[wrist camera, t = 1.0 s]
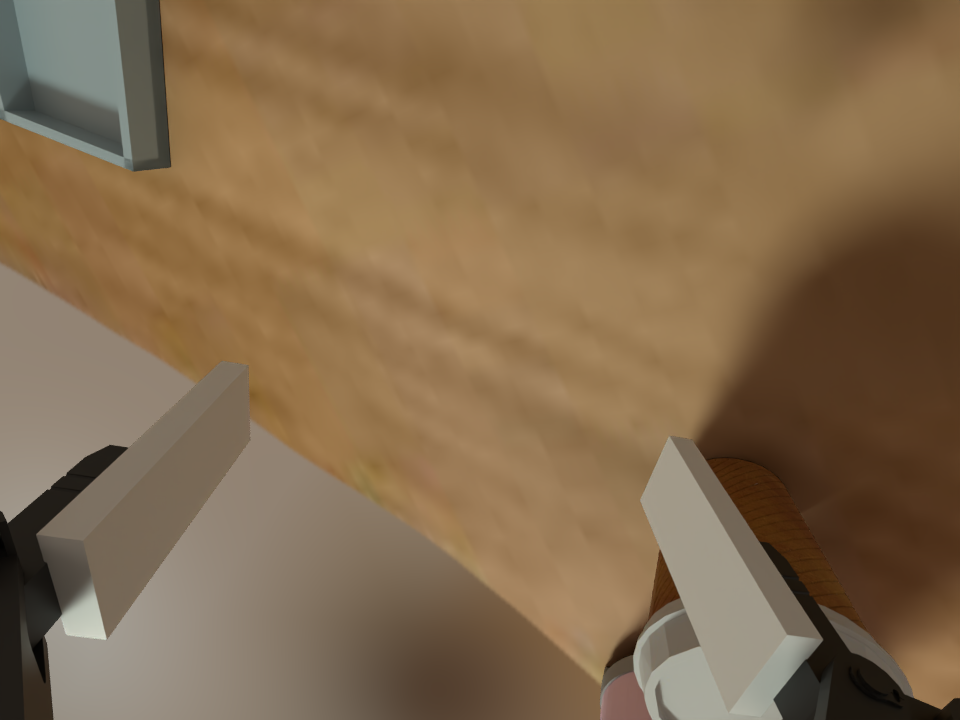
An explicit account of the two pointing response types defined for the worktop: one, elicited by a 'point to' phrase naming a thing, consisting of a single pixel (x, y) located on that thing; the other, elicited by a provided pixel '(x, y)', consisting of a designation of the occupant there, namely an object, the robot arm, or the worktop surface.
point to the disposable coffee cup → (669, 633)
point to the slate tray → (87, 76)
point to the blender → (622, 693)
